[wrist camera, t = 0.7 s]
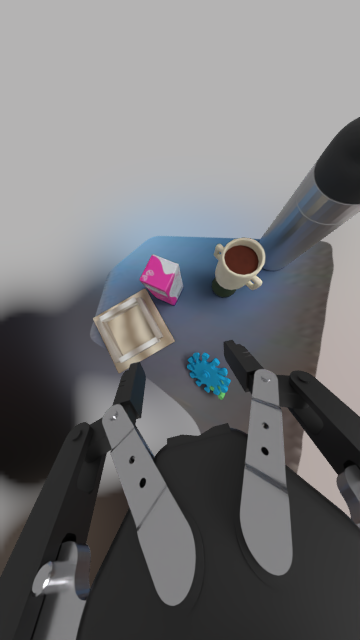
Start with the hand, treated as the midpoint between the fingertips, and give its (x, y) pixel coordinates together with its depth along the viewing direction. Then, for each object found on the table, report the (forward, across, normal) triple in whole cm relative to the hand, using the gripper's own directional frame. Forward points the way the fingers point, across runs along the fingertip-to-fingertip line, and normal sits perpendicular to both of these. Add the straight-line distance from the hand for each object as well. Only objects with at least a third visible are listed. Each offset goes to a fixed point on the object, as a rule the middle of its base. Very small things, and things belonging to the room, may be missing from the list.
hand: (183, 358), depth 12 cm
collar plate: (+22, +11, +7) cm, 26 cm away
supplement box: (+26, 0, +1) cm, 26 cm away
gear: (+13, -4, +18) cm, 23 cm away
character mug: (+24, -14, +2) cm, 28 cm away
